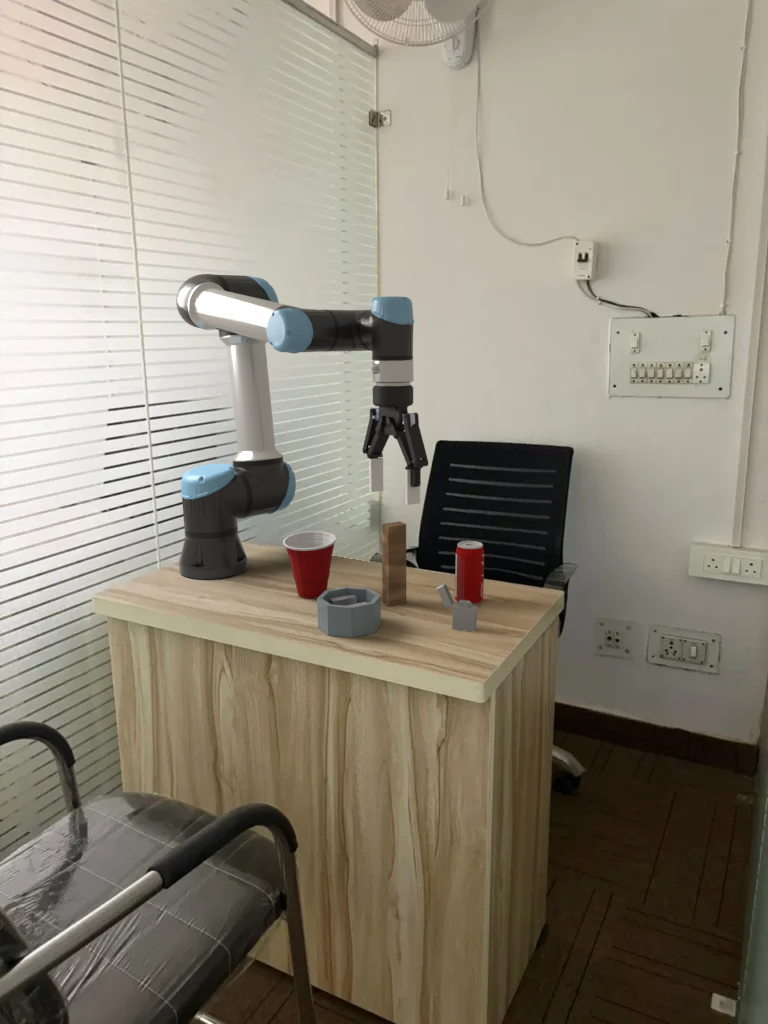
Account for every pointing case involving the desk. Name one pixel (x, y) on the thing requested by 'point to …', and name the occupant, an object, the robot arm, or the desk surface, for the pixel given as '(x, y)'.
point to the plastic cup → (310, 561)
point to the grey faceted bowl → (349, 613)
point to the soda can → (469, 572)
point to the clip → (345, 600)
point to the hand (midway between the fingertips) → (393, 497)
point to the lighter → (459, 610)
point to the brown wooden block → (394, 563)
